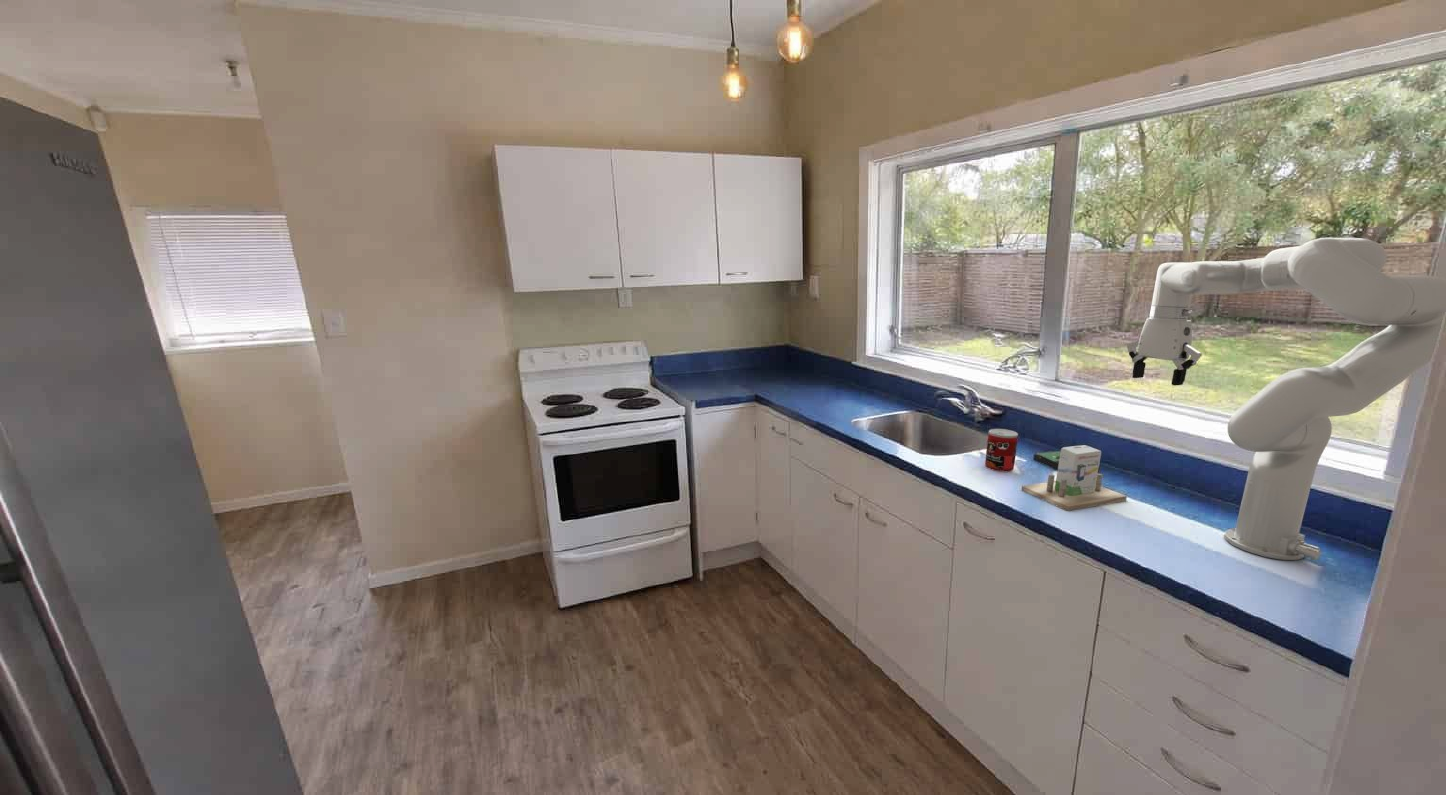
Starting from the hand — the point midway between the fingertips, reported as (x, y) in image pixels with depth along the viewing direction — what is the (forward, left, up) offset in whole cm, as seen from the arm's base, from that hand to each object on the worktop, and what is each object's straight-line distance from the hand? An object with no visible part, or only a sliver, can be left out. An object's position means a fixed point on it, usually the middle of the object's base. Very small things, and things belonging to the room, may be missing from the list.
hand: (1156, 381), depth 143 cm
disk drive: (+22, 0, -31) cm, 38 cm away
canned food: (+27, +20, -31) cm, 45 cm away
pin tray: (+4, +18, -30) cm, 35 cm away
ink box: (+4, +18, -29) cm, 35 cm away
